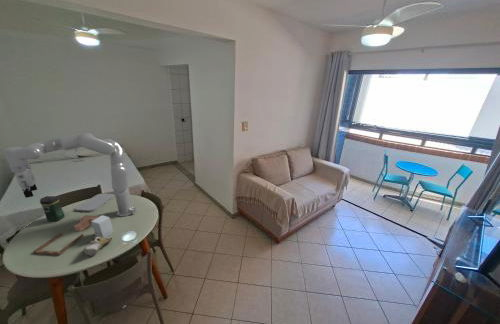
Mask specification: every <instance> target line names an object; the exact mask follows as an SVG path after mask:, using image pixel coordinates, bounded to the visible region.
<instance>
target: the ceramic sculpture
mask: <svg viewBox="0 0 500 324" xmlns="http://www.w3.org/2000/svg"><path fill="white" fill-rule="evenodd" d="M112 240H113V237H110V238H105V239H103V238H102V237H96V236H95V237H94V238H92V239H91V240H89V242H88V245H86V246H85V247H84V248H83V252H84V254H86V255H87V256H95V255H97V253H98V251H99V250H100V249H102V248H103V246H106V245H108V244H110V242H111V241H112Z"/></svg>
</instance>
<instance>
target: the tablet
mask: <svg viewBox="0 0 500 324" xmlns="http://www.w3.org/2000/svg"><path fill="white" fill-rule="evenodd" d="M112 197H114V198H115V194H114V193H98V194H95V195H94V196H92V197H91V198H89V199H88V200H86V201H84V202H83V203H81V204H79V205H78V206H76V207H74V210H75V211H77V212H88V213H92V212H95V211H96V210H98V209H99V208H100V206H101V207H102V206H104V205H105V204H106V203H108V202H109V201H110V200H109V199H111V198H112ZM112 199H113V198H112ZM112 199H111V200H112ZM108 200H109V201H108ZM107 201H108V202H107ZM105 202H106V203H105ZM104 203H105V204H104Z"/></svg>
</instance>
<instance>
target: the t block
mask: <svg viewBox="0 0 500 324" xmlns="http://www.w3.org/2000/svg"><path fill="white" fill-rule="evenodd" d="M98 217H99V216H98V215H88V214H85V215H83V216H82V217H80V221H79V222H78V223H76V224H74V225H73V226H74V230H75V231H76V232H81V231H83V230H84V229H86V228H87V227H88V226H90V225H92V223H91V221H93V220H95V219H96V218H98Z"/></svg>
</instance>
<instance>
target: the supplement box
mask: <svg viewBox="0 0 500 324" xmlns="http://www.w3.org/2000/svg"><path fill="white" fill-rule="evenodd" d="M91 223H92V224H91V227H92V228H93V231H94V235H95V237H102V238H103V239H104V240H106V239H108V238H109V236H111V235H112V234H114V229H113V228H114V227H113V224H112V222H111V218H110V217H109V216H106V215H100V216H98V218H96V219H95V220H93V221H91Z"/></svg>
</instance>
